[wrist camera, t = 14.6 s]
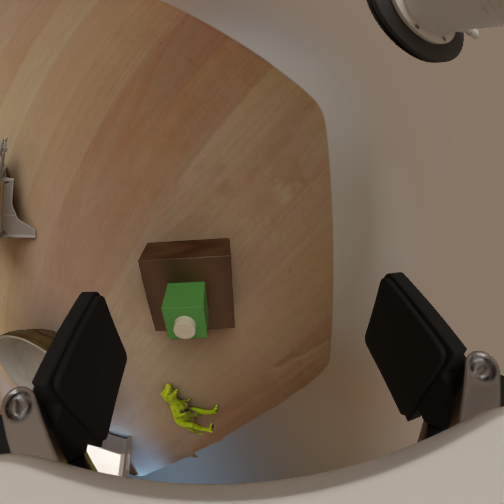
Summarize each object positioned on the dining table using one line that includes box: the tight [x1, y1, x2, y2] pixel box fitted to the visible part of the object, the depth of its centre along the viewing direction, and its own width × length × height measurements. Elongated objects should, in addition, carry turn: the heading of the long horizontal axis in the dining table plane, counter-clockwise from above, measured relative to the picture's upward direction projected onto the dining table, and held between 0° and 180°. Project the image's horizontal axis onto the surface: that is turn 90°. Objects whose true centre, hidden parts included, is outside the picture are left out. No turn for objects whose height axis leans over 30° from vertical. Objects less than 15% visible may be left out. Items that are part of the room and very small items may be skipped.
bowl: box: [0, 329, 57, 390], centre depth 39 cm, size 24×24×10 cm
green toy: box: [161, 282, 209, 339], centre depth 31 cm, size 5×5×6 cm
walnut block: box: [138, 238, 235, 331], centre depth 36 cm, size 11×11×5 cm
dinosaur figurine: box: [161, 383, 218, 436], centre depth 50 cm, size 20×10×6 cm, turn 24°
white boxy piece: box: [87, 434, 132, 477], centre depth 51 cm, size 25×16×19 cm, turn 73°
